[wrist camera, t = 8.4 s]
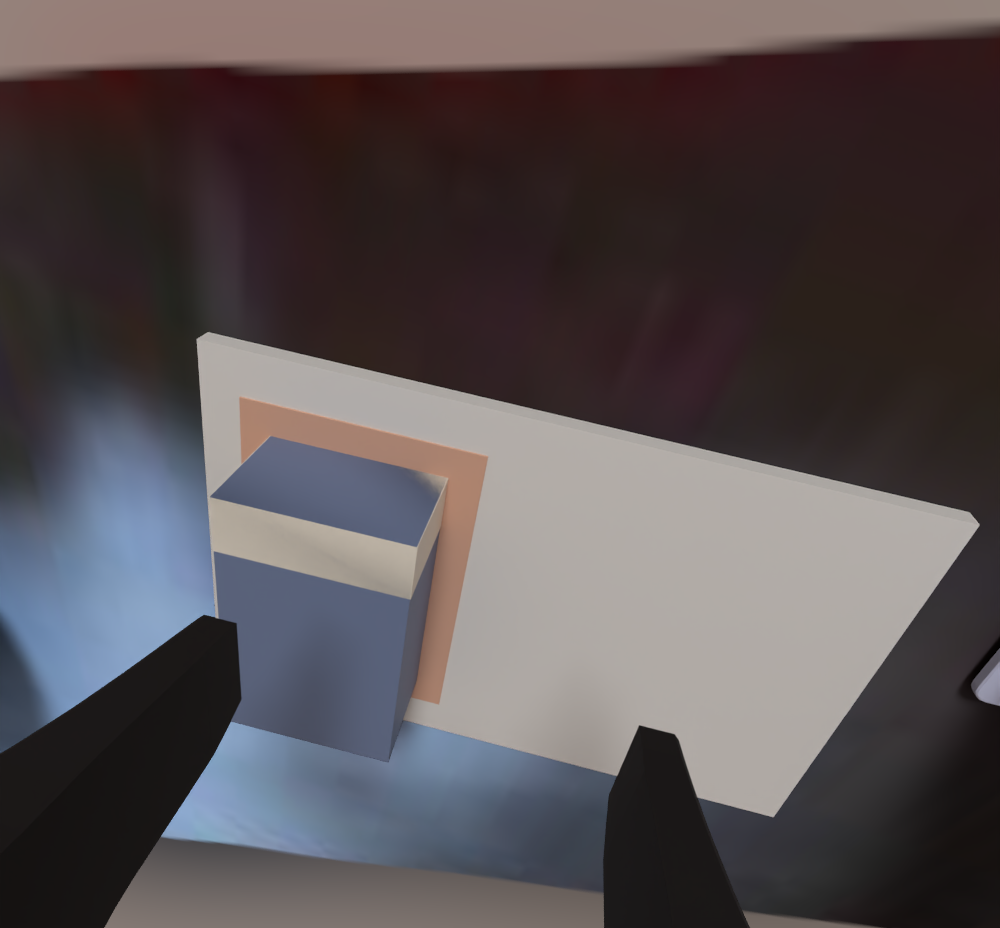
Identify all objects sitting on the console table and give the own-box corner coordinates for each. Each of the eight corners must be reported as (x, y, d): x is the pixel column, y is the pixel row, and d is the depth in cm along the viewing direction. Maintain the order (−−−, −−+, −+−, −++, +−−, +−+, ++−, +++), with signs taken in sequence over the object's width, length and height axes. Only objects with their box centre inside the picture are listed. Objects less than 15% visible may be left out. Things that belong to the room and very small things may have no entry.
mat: (969, 512, 18) (980, 526, 17) (770, 802, 25) (773, 819, 25) (207, 332, 19) (195, 339, 18) (227, 660, 26) (218, 673, 26)
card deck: (417, 680, 24) (388, 762, 21) (273, 644, 24) (225, 720, 21) (448, 477, 19) (417, 547, 17) (269, 436, 20) (208, 496, 17)
